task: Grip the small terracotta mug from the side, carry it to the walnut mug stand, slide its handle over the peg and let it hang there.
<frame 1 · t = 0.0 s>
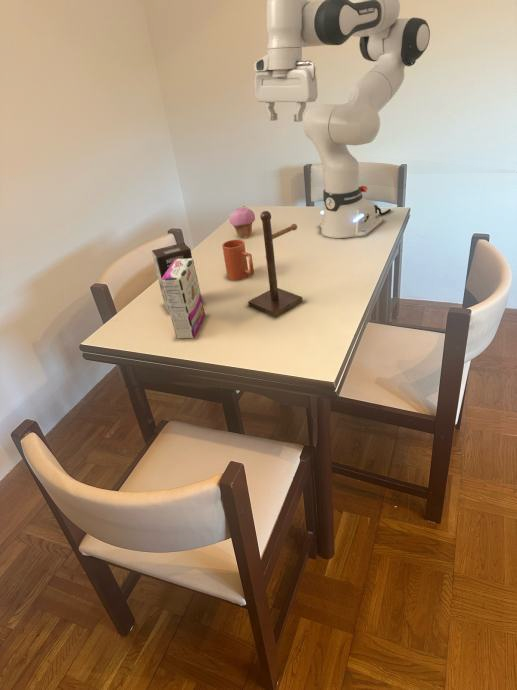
hand: (285, 120, 131), 39 cm above the table, tool pointing down, fingers open, 8 cm apart
candy bar box: (191, 328, 121), on the table
mug stand: (275, 304, 126), on the table
coffee box: (183, 305, 133), on the table
mug: (238, 275, 144), on the table
cupcake: (244, 236, 171), on the table
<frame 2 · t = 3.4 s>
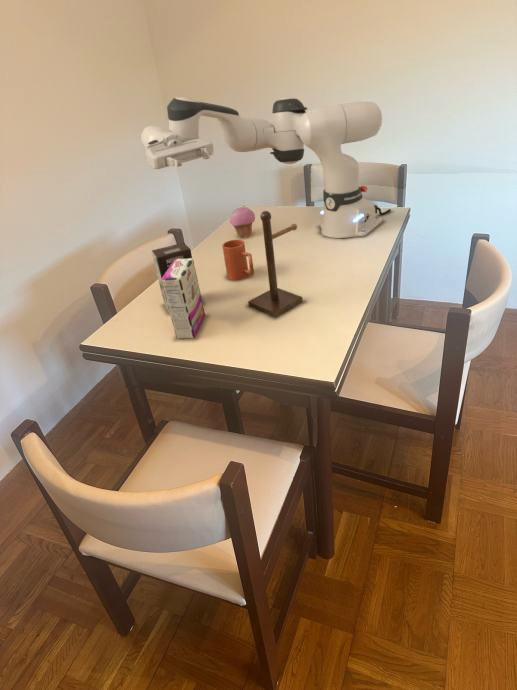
hand: (193, 159, 141), 31 cm above the table, tool horizontal, fingers open, 8 cm apart
nothing on the table moved.
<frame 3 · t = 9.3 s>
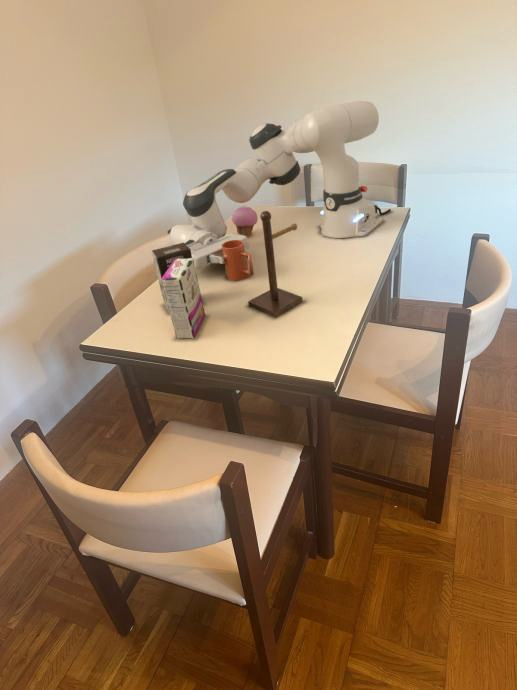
hand: (234, 256, 140), 6 cm above the table, tool horizontal, fingers closed on mug, 6 cm apart
mug: (237, 275, 144), on the table, touching gripper
cupcake: (244, 235, 171), on the table, touching arm
everything else where it was.
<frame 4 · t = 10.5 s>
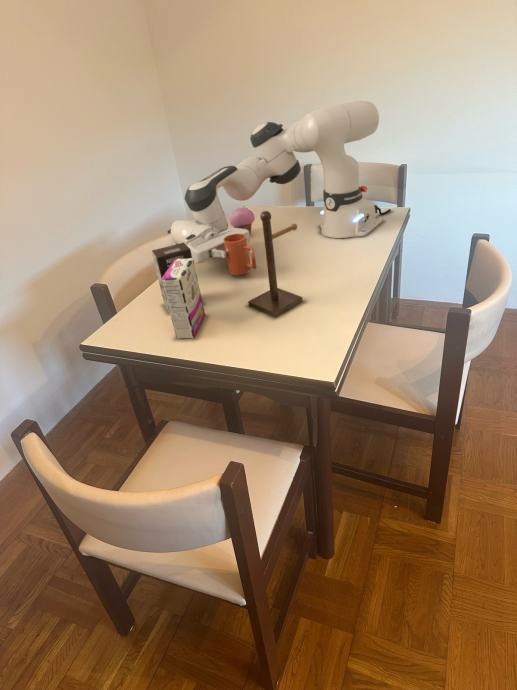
hand: (236, 249, 139), 8 cm above the table, tool horizontal, fingers closed on mug, 6 cm apart
mug: (240, 270, 142), point 2 cm above the table, touching gripper
cupcake: (244, 236, 171), on the table
everything else where it was.
when the fingers open (17 cm above the table, at t = 18.9 s): mug moves 7 cm and tips over, resting on mug stand.
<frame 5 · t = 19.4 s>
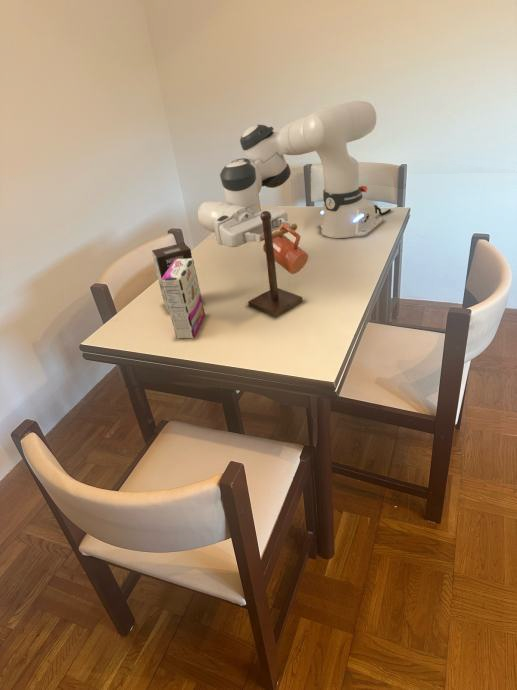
hand: (275, 232, 123), 17 cm above the table, tool horizontal, fingers open, 8 cm apart
mug: (299, 263, 122), point 10 cm above the table, tilted 66°, touching mug stand
everything else where it was.
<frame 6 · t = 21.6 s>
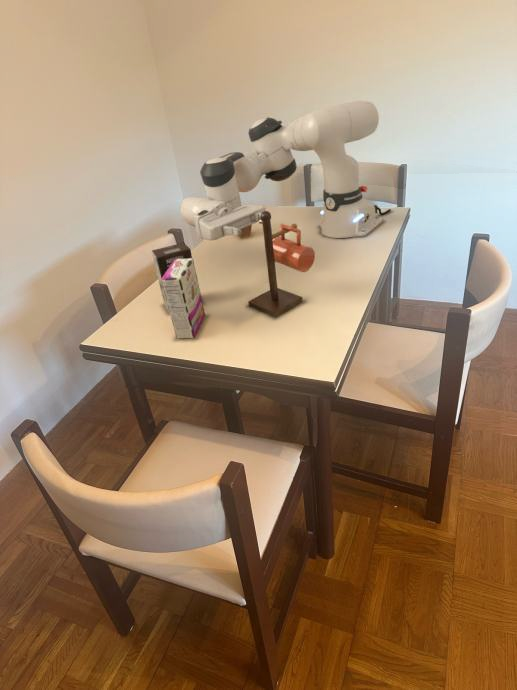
hand: (252, 226, 129), 17 cm above the table, tool horizontal, fingers open, 8 cm apart
mug: (306, 259, 119), point 12 cm above the table, tilted 86°, touching mug stand
everything else where it was.
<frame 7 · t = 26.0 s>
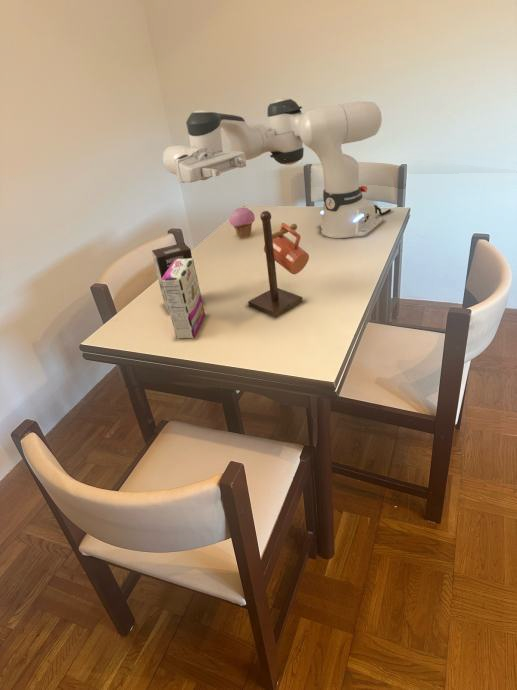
hand: (231, 168, 131), 30 cm above the table, tool horizontal, fingers open, 8 cm apart
mug: (300, 263, 121), point 10 cm above the table, tilted 68°, touching mug stand
everything else where it was.
at the end: mug inside the target area (4.7 cm from its centre), point 11.5 cm above the table; mug touching mug stand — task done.
